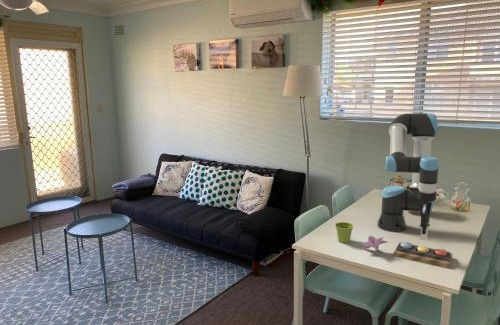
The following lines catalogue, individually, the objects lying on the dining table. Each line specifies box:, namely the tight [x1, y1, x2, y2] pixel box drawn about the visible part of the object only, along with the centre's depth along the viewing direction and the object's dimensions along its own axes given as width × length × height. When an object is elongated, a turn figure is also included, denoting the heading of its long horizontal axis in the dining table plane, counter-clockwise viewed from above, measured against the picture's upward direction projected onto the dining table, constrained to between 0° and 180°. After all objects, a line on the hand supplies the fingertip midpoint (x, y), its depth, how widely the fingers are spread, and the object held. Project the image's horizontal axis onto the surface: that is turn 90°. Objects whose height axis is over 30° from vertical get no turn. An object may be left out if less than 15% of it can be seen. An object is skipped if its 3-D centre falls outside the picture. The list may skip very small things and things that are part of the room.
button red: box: [434, 248, 448, 257], centre depth 170 cm, size 5×5×2 cm
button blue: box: [400, 241, 413, 249], centre depth 178 cm, size 5×5×2 cm
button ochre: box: [417, 245, 430, 253], centre depth 174 cm, size 5×5×2 cm
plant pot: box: [334, 221, 354, 244], centre depth 194 cm, size 9×9×9 cm
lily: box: [361, 235, 388, 256], centre depth 180 cm, size 12×12×10 cm
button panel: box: [393, 241, 454, 269], centre depth 175 cm, size 23×12×4 cm, turn 56°
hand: (423, 239), depth 174 cm, fingers closed
